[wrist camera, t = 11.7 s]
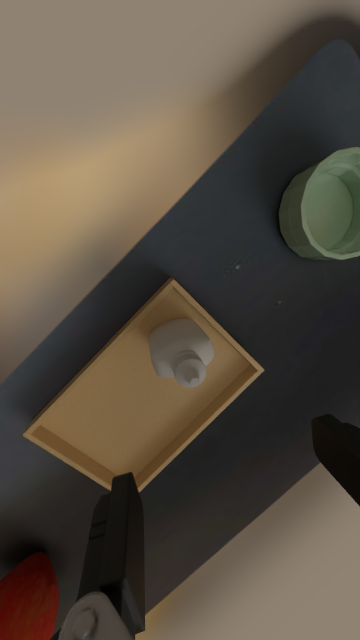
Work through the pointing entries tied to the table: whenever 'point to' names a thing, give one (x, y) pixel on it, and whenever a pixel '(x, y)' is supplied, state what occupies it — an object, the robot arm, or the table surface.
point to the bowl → (324, 208)
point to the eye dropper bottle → (180, 351)
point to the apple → (29, 600)
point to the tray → (140, 398)
